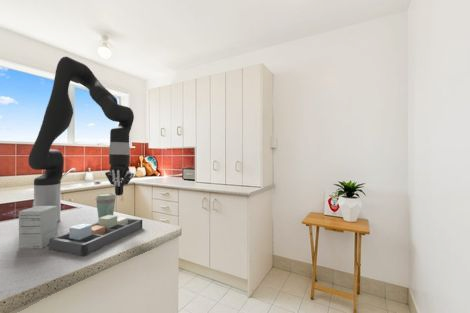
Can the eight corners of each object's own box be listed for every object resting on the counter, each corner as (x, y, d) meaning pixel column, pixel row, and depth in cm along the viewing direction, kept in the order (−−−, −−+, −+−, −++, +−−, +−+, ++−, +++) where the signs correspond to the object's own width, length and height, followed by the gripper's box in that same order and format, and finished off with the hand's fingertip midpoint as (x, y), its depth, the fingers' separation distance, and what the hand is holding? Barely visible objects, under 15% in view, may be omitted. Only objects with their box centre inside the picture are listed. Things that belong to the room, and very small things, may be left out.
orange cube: (84, 239, 76) (85, 229, 76) (96, 234, 80) (96, 225, 80) (94, 240, 75) (94, 230, 75) (105, 236, 79) (105, 226, 79)
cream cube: (110, 228, 87) (110, 220, 87) (119, 225, 91) (119, 216, 91) (119, 229, 85) (119, 221, 85) (127, 226, 90) (127, 217, 90)
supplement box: (36, 240, 77) (36, 205, 77) (58, 239, 78) (58, 205, 78) (17, 249, 70) (17, 211, 70) (41, 248, 70) (41, 211, 70)
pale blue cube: (69, 238, 71) (69, 227, 71) (82, 233, 75) (82, 223, 75) (79, 239, 70) (79, 229, 69) (91, 235, 74) (91, 224, 74)
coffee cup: (106, 222, 97) (106, 196, 97) (90, 221, 99) (90, 195, 99) (120, 217, 106) (120, 193, 105) (105, 216, 107) (105, 192, 107)
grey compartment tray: (49, 249, 70) (49, 238, 70) (114, 224, 95) (114, 216, 95) (84, 256, 66) (84, 244, 66) (142, 228, 91) (142, 220, 91)
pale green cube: (98, 227, 81) (98, 218, 81) (108, 223, 86) (108, 214, 86) (107, 228, 80) (107, 219, 80) (117, 224, 84) (117, 215, 84)
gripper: (99, 153, 86) (98, 195, 86) (125, 153, 82) (125, 198, 82) (114, 153, 93) (113, 192, 93) (139, 153, 89) (138, 194, 90)
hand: (119, 195), depth 88 cm, fingers closed
